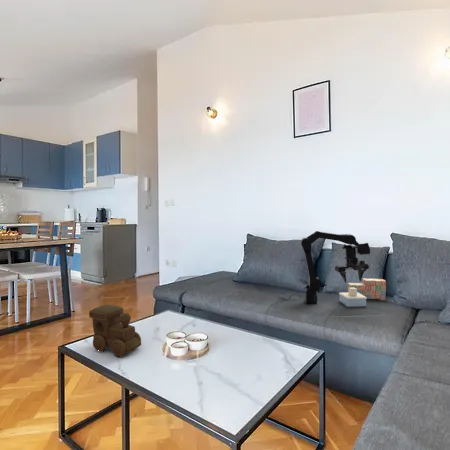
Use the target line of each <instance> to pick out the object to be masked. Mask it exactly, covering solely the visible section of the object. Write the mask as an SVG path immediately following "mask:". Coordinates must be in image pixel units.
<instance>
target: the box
mask: <svg viewBox="0 0 450 450" xmlns="http://www.w3.org/2000/svg"><path fill="white" fill-rule="evenodd" d="M339 302H340V303H342V304H343V305H344V306H345V307H367V299H346V298H345V297H343V296H342V295H340V294H339Z"/></svg>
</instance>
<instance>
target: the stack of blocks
mask: <svg viewBox="0 0 450 450" xmlns="http://www.w3.org/2000/svg"><path fill="white" fill-rule="evenodd" d="M352 287H354V288H356V289H357V292H358V293H360V294H362V295H363V296H365V297H367V299H366V300H379V301H386V300H387V298H386V297H387V295H386V293H387V281H386V280H385V279H383V278H362V279H361V282H348V283H347V289H348V288H352Z"/></svg>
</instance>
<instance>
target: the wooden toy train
mask: <svg viewBox="0 0 450 450" xmlns="http://www.w3.org/2000/svg"><path fill="white" fill-rule="evenodd" d="M88 314H89V315H88V318H91V319H92V330H93V336H92V337H93V340H92V346H93V348H94V349H95V350H96V351H97V350H99V351H103V352H104V351H105V350H106V349H107V348H108V349H111V352H112V354H113V355H114V356H115V355H116V356H115V357H117V356H122V357H124V355H125V354H126V353H130V352H132V351H134V350H136V349H138V348H139V347H141V346H142V336H141V335H140V334H139V333H138V332H137V331H136V326H134V325H131V324H130V322H131V320H132V316H131V315H130V314H129V313H128V312H124V307H122V306H119V305H114V304H105V305H100V306H97V307H94V308H92V309H91V310H89V311H88Z"/></svg>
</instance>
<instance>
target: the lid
mask: <svg viewBox="0 0 450 450" xmlns="http://www.w3.org/2000/svg"><path fill="white" fill-rule="evenodd" d="M338 294H339V296H340V295H342V296H343V297H345V298H346V299H366V300H368V299H367V297H365V296H363V295H362V294H360V293H358V292H357V289H356V288H354V287H352V288H348V287H347V291H346V292H339V293H338Z"/></svg>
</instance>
